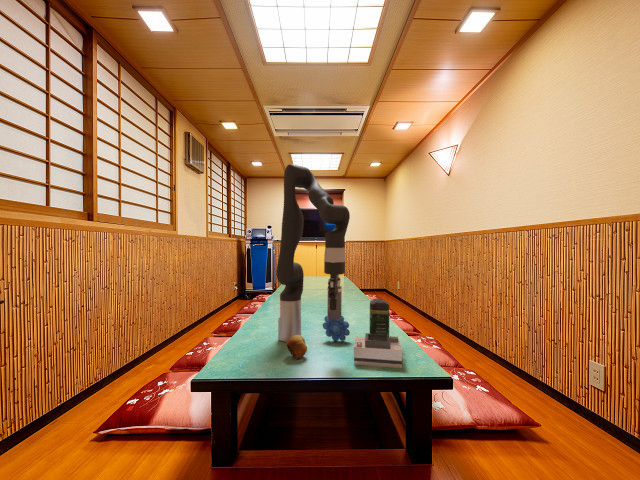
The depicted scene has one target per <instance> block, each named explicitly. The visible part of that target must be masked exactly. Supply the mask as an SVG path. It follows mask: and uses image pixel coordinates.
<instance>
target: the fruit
mask: <svg viewBox="0 0 640 480" xmlns="http://www.w3.org/2000/svg"><path fill="white" fill-rule="evenodd" d="M285 345H286V348H287V349H288V351H289V353H290V355H291V356H293V358H294V359H297V360H298V359H300V358H303V357H304V356H305V355H306V354H307V352H308V345H307V344H306V339H305V338H304V336H302V335H301V336H300V335H294V336H292V337H291V338H290V339H289V340H288V341H287V342H285Z"/></svg>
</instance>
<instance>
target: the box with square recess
mask: <svg viewBox="0 0 640 480" xmlns="http://www.w3.org/2000/svg"><path fill="white" fill-rule="evenodd" d="M354 339H355V340H354V343H353V344H354V345H353V365H355V366H366V367H368V366H370V367H380V368H381V367H382V368H392V369H393V368H395V369H403V349H402V345H401V342H400V339H399V336H392V335H391V336H390V334H389V335H388V334H371V333H370V332H369V333H367V332H365V337H364V336H363V337H362V336H355V338H354Z"/></svg>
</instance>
